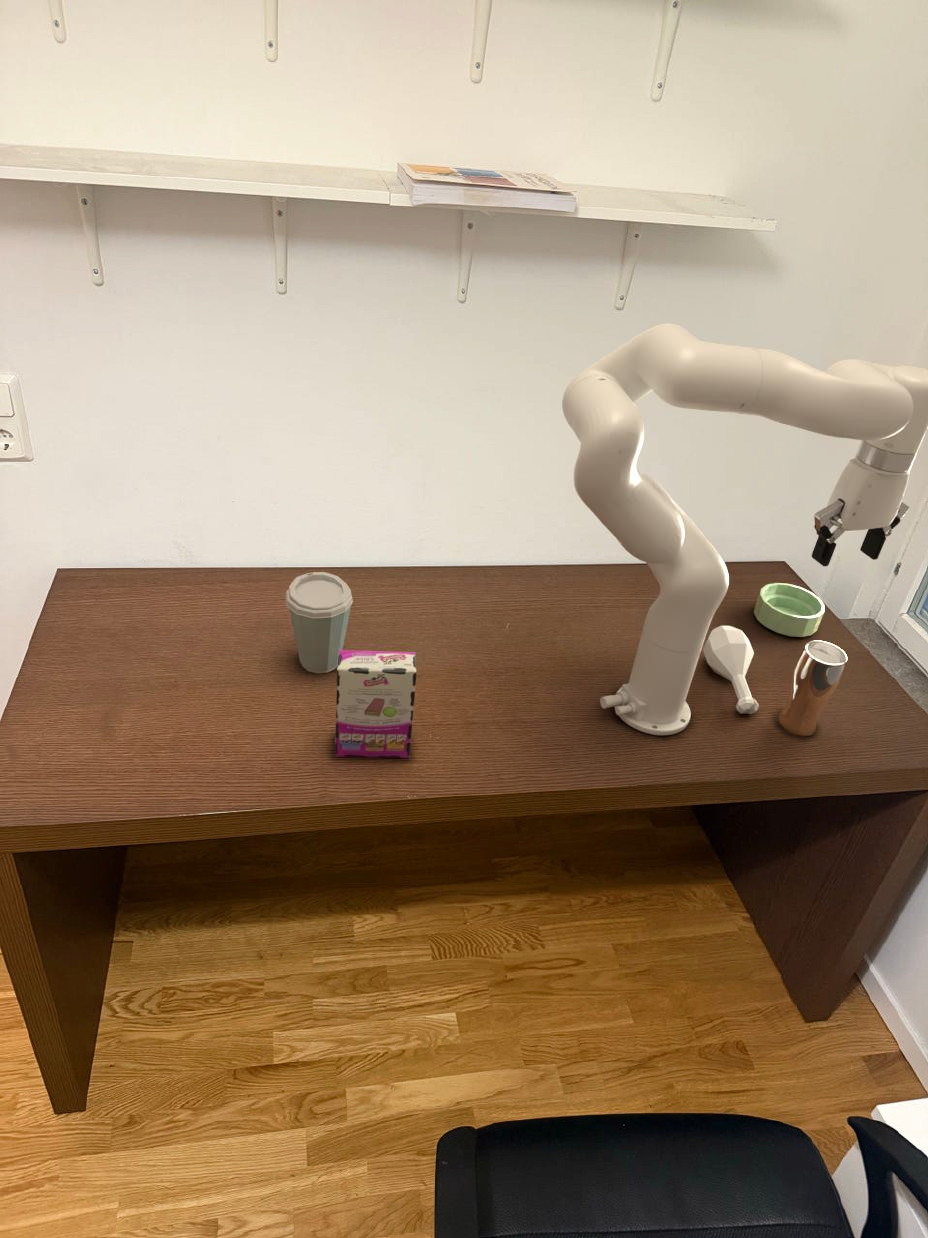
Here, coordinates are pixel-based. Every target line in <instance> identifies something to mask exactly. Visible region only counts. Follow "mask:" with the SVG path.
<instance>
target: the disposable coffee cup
mask: <svg viewBox="0 0 928 1238" xmlns="http://www.w3.org/2000/svg"><path fill="white" fill-rule="evenodd" d="M353 603H354V599H353V596H352V591H351V588H350V587H349V586H348V584H347V583H346V582H345V580H343V579H342V578H340V577H339V575H335V574H332V573H329V572H325V571H314V572H313V571H312V572H308V573H306V572H305V573H304V574H301V575H298V576H296V577H295V578H294V579H293V580H292V582H291V584H290V585H289V586H288V589H287V590H286V592H285V604H286V607H287V608H288V610H289V615H290V621H291V624H292V631H293V634H294V638H295V644H296V648H297V653H298V654H297V655H298V658H299V663H300V664H301V667H303V668H304V670H306V671H307V672H310V673H314V674H317V675H318V674H327V673H330V672H332V671H334V670H336V669H337V664H338V655H339V650H344V646H345V645H344V644H345V639H346V633H347V629H348V624H349V617H350V615H351V614H350V613H351V609H352V604H353Z"/></svg>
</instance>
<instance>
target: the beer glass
mask: <svg viewBox="0 0 928 1238" xmlns="http://www.w3.org/2000/svg"><path fill="white" fill-rule="evenodd" d="M847 662H848V656H847V654H846V652H845V651H844V650H843V649H841V648H840V647H839V646H837V645H835V644H833V643H831V642H827V641H823V640H810V641H807V643H805V645H804V647H803V649H802V651H801V654H800V656H799V657H798V659H797V662H796V664H795V667H794V670H793V673H792V676H791V681H790V687H789V694H788V699H787V702H786V704H785V706H784V708H783V709H782V710H781V712H780V713H779V715H778V719H777V721H778V724H779V725H780V726H781V728H782V729H784V730H785V731H786V732H788V733H790V734H792V735H795V736H799V737H809V736H811V735H813V734H814V733H815V732H816V730H817V724H818V718H819V716H820V714H821V712H822V710H823V709H824V707H825V706H826V704H827V703H828V702H829V700H830V699H831V697H832V696H833V695H834V693H835V691H836V690H837V688H838V686H839V684H840V681H841V679H842V676H843V673H844V670H845V667H846V664H847Z"/></svg>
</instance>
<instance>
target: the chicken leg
mask: <svg viewBox="0 0 928 1238" xmlns="http://www.w3.org/2000/svg"><path fill="white" fill-rule="evenodd" d="M702 651H703V654H704V657H705V661H706V664H707V665H709V667H710V668H711V671H713V672H714V673H715V674H717V675H719V676H721V677H723V678H724V679H726V680H728V681H729V682H731V683H732V686H733V689H734V692H735V695H736V697H737V703H736V705H735V709H736V711H737V712H738V713H739V714H741V715H742V714H743V715H744V714H749V715H751V714H754V713H756V712H757V711H758V709H759V707H760V705H759V703H758V702H757V700H756V699H755V698H754V697H752V694H751V690H750V688H749V685H748V683H747V679H746V674H747V672H748V670H749V667H750V665H751V663H752V659H753V657H754V655H755V651H754V649H753V647H752V644H751V642H750V639H749V638H748V636H746V634H745V633H744V632H743V630H742V629H739V628H736V627H734V626H731V625H720V626H717V627H715V628H713V629H711V632H710V634H709V636H708V637H707V640H706V642H705V644H704V645H703V647H702Z"/></svg>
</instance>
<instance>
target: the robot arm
mask: <svg viewBox="0 0 928 1238" xmlns="http://www.w3.org/2000/svg"><path fill="white" fill-rule="evenodd" d="M651 392H653V393H655V395H656V396H657V397H658V398H659V399H660V400H661V401H663V402H664V403H666V404H668V405H670V406H672V407H675V408H681V409H688V410H698V411H707V412H718V413H720V412H721V413H731V414H738V415H747V416H756V417H760V418H761V417H762V418H765V419H768V420H769V421H773V422H775V423H778V424H781V425H786V426H791V427H794V428H798V429H801V430H805V431H808V432H810V433H811V432H812V433H815V434H818V435H823V436H827V437H832V438H838V439H847V440H856V441H857V440H858V441H860V443H859V446H858V448H857V451H856V453H855V455H854V458H851V459H850V460H849V461H848V462H847V464H846V466H845V467H844V468H843V470H842V472H841V474H840V476H839V477H838V480H837V482H836V484H835V486H834V487H833V490H832V492H831V494H830V496H829V499H828V501H827V504H826V506H825V507H823V508H822V509H820V510H818V511H817V512H815V513H814V515H813V519H814V525H813V526H814V530H815V531H816V535H817V536H818V537H817V539H816V542H815V545H814V547H813V550H812V553H811V558H812V559H813V560H814V561H816V562H817V563H818V564H819V565H821V567H828V566H829V565H830V562H831V561H832V557H833V555H834V553H835V550H836V547H837V543H836V541H837V539H839V538H840V537H841V536H842V535H843V534H844V533H845V532H856V531H857V532H858V531H865V530H867V532H866V534H865V536H864V538H863V541H862V544H861V546H860V549H859V551H860V552H861V553H863V554H864V555H866V556H867V557H868V558H870V559H871V560H873V561H875V560H878V559H879V556H880V555H881V552H882V549H883V547H884V545H885V543H886V540H887V537H890V536H891V535H892V533H893V529H895V528H896V527H897V526H898V525H899V524H900V523H901V519H903V517H904V516H905V515H906V514H907V513H908V511H909V510H910V506H909V505H907V504H906V503H904V502H903V499H904V496H905V493H906V489H907V487H908V483H909V480H910V475H911V470H912V466H913V463H914V461H915V459H916V456H917V454H918V451H919V449H920V446H921V444H922V442H923V440H924V437H925V435H926V434H927V433H926V432H927V430H928V369H927V368H923V367H920V366H914V365H895V366H893V365H892V366H891V365H887V364H886V365H885V364H881V363H877V362H873V361H869V360H864V359H859V358H849V359H848V358H847V359H842V360H839V361H837V362H834V363H833V364H831V365H829V366H828V367H827V369H826V370H825V371H822V370H821V369H818V368H815V367H813V366H811V365H809V364H807V363H806V362H803V361H801V360H799V359H797V358H795V357H794V356H791V355H789V354H786V353H783V352H781V351H778V350H774V349H767V348H759V347H750V346H744V345H743V346H742V345H735V344H734V345H733V344H725V343H720V342H719V343H718V342H712V341H704V340H700V339H698V338H697V337H695V335H693V334H692V333H690V331H688V330H687V329H686V328H685V327H683V326H682V325H680V324H677V323H673V322H672V323H671V322H665V323H661V324H657V325H654V326H653V327H650V328H648V329H646V330H643V331H642V332H640V333H638V334H637V335H635V336H633V337H632V338H630V339H629V340H626V342H624V343H623V344H621V345H619V346H618V347H617V348H615V349H613V350H612V351H611V352H609V353H607V354H606V355H604V356H603V357H601V358H600V359H598V360H597V361H595V362H594V363H592V364H591V365H589V366H588V367H586V368H585V369H583V370H582V371H580V372H579V373H578V374H577V375H576V376H574V378H573V379H572V380H571V381H570V383H569V384H568V385H567V386H566V388H565V390H564V392H563V396H562V401H561V408H562V413H563V416H564V418H565V420H566V422H567V423H568V425H569V427H570V428H571V430H572V431H573V433H574V434H575V436H576V438H577V439H578V440H579V443H580V446H579V451H578V454H577V458H576V460H575V464H574V469H573V470H574V471H573V485H574V489H575V492H576V493H577V496H578V497H579V499H580V500H581V502H583V504H584V505H585V506H586V507H587V508H588V509H589V510H590V512H592V513H593V514H594V516H595V517H596V518H597V519H598V520H599V522H601V524H602V525H603V526H604V527H605V528H606V529H607V530H608V531H609V533H610V534H611V535H612V536H613V537H615V539H616V540H617V541H618V543H619V544H620V545H621V547H622V548H623V549H624V551H626V552H627V553H628V554H630V555H631V556H632V557H634V558H636V559H638V560H639V561H641V562H645V563H646V565H647V567H648V568H649V569H650V571H651V573H652V574H653V576H654V578H655V580H656V581H657V583H658V585H659V594H658V596H657V597H656V599H655V600H654V602H653V603H652V604H651V605H650V607H649V609H648V610H647V613H646V615H645V619H644V623H643V627H642V630H641V634H640V638H639V639H640V640H639V642H638V646H637V650H636V653H635V657H634V661H633V664H632V668H631V672H630V675H629V679H628V683H623V684H622V686H621V687H620V688H619V689H618V690H617V691H616V693H615V694H610V695H604V696H601V697H600V699H599V704H600V706H601V708H602V709H603V710H605V709H609V708H614V712H615V714H616V715H617V716H618V717H619V718H620V719H621V720H622V721H623V722H624V723H626V724H627V725H628V726H629V727H631V728H633V729H635V730H637V731H640V732H642V733H645V734H649V735H653V736H670V735H675V734H678V733H680V732H682V731H684V730H685V729H686V728H687V726H688V725H689V723H690V720H691V715H692V712H691V708H690V707H689V704H688V703H687V701H686V700H687V697H688V694H689V691H690V687H691V684H692V682H693V678H694V675H695V671H696V669H697V665H698V662H699V659H700V656H701V652H702V651H703V648H704V643H705V640H706V637H707V634H708V631H709V628H710V625H711V623H712V621H713V618H714V616H715V614H716V612H717V610H718V608H719V607H720V605H721V603H722V602H723V601H724V598H725V597H726V594H727V592H728V589H729V585H730V576H729V572H728V567H727V566H726V563H725V561H724V560H723V558H722V556H721V554H719V553H718V551H717V550H716V548H715V547H714V546H713V545H712V543H711V542H710V541H709V540H708V539H707V538H706V537H705V535H704V534H703V532H702V531H701V530H700V529H699V527H698V526H697V524H695V522H694V521H693V520H692V519H691V517H689V515H688V514H687V513H685V511H684V510H683V508H681V507H680V505H678V504H677V502H676V500H674V499H673V498H672V496H671V495H669V493H668V492H667V491H666V490H665V489H664V487H663V486H662V485H661V484H660V483H659V482H658V481H657V480H656V479H655V478H654V477H652V476H650V475H648V474H646V473H644V472H643V473H642V472H641V471H640V470H639V468H638V467H637V462H638V457H639V455H640V452H641V450H642V448H643V447H642V446H643V445H644V440H645V422H644V419H643V415H642V413H641V411H640V410H639V408H638V406H637V405H636V404H635V403H637V402H638V401H639V400H641V399H643V398H644V397H645V396H647V395H648V394H650V393H651ZM839 520H840V521H839ZM833 526H834V527H836V528H835V529H834V530H833V531H832V532H831V528H833Z"/></svg>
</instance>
